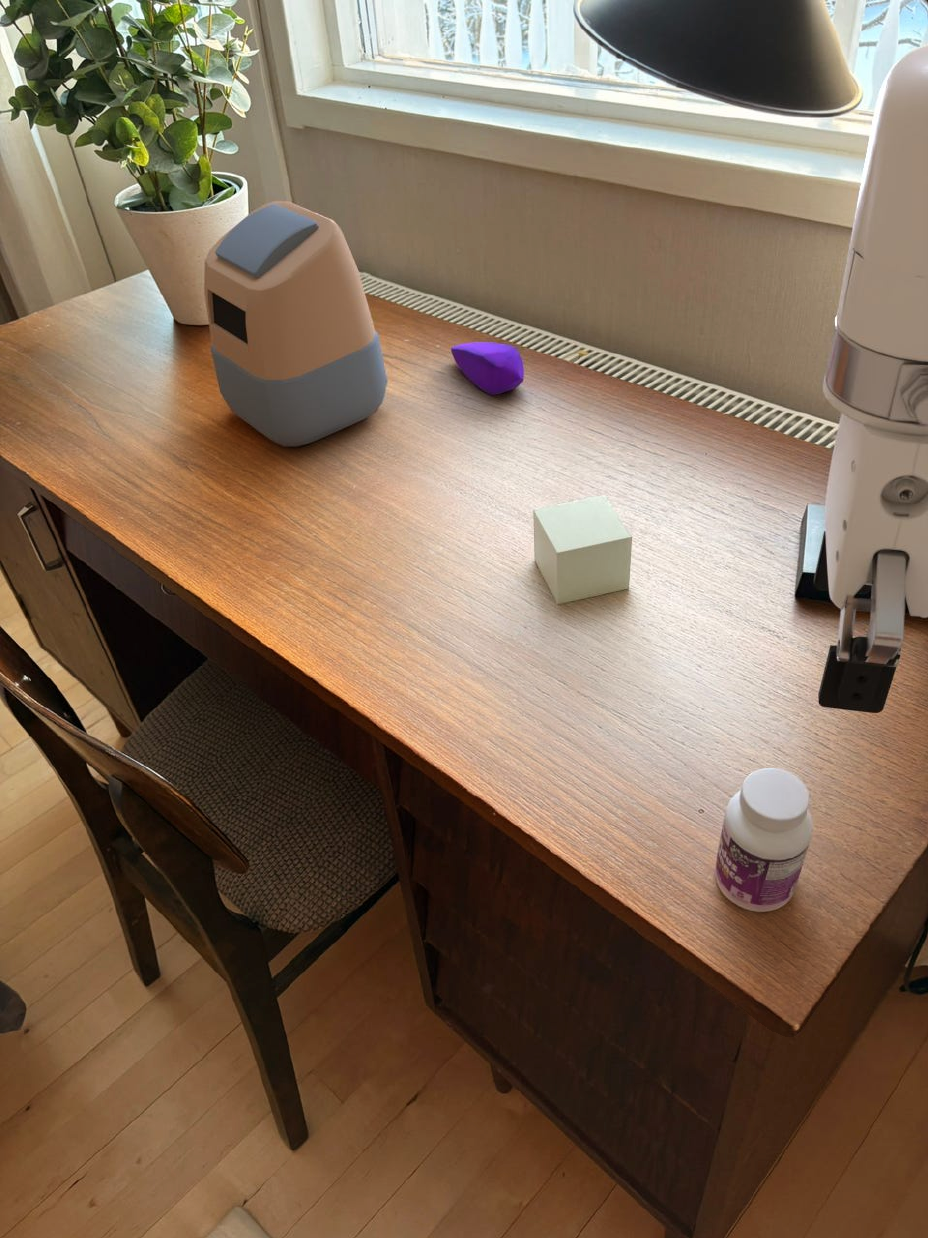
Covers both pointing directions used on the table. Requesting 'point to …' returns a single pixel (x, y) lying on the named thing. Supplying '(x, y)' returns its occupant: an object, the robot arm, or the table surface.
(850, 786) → the table surface
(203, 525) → the table surface
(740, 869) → the pill bottle
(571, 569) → the sage block
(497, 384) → the crystal
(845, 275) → the robot arm
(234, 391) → the alarm clock
